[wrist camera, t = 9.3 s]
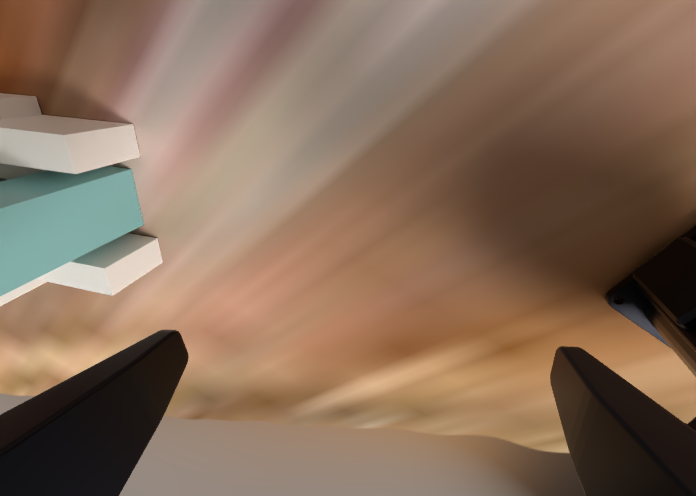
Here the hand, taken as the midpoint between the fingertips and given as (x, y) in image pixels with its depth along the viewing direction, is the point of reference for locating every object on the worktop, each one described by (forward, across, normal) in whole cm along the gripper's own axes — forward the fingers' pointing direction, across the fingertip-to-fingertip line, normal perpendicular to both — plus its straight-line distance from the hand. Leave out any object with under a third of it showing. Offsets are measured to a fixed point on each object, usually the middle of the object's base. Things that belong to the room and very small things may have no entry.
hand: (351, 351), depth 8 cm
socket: (+14, +21, 0) cm, 26 cm away
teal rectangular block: (+14, +19, 0) cm, 24 cm away
